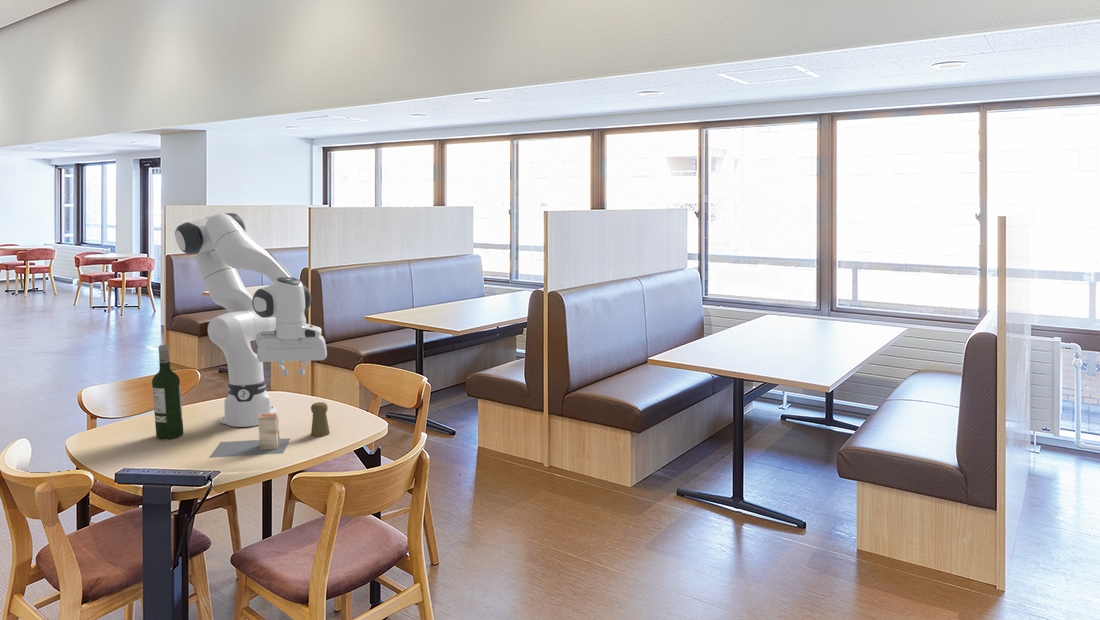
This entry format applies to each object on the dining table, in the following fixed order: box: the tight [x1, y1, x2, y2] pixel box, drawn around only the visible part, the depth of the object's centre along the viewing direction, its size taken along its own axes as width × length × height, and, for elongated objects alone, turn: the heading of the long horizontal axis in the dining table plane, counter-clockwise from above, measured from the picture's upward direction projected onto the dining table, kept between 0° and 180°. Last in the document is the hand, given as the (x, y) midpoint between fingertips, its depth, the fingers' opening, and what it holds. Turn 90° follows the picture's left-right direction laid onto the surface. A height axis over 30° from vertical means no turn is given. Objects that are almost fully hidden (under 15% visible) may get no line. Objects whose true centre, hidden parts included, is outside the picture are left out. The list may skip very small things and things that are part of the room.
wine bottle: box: [151, 344, 184, 440], centre depth 239 cm, size 8×8×30 cm
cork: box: [310, 401, 331, 438], centre depth 242 cm, size 6×6×11 cm
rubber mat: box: [209, 437, 291, 458], centre depth 229 cm, size 14×21×1 cm, turn 101°
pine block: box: [258, 412, 281, 450], centre depth 229 cm, size 5×5×10 cm
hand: (293, 374), depth 228 cm, fingers open, 3 cm apart
